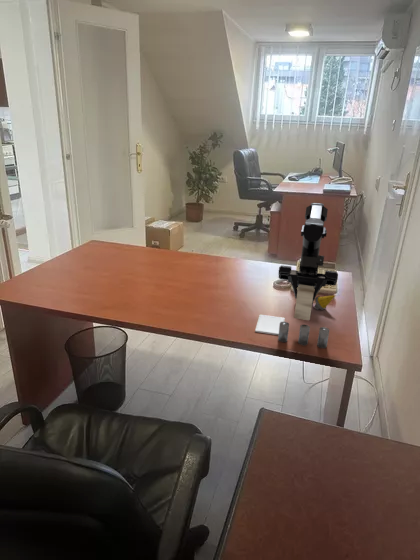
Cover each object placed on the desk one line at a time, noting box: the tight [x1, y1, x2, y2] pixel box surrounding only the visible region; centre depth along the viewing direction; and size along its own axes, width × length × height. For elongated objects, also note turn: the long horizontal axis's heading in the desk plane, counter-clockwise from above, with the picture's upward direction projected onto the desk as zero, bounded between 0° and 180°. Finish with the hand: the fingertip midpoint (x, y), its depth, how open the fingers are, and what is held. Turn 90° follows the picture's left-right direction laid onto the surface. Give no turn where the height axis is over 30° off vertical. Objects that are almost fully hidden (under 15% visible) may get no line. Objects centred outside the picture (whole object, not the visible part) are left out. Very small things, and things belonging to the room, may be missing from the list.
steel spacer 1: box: [277, 321, 290, 343], centre depth 129 cm, size 3×3×6 cm
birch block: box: [293, 284, 315, 321], centre depth 130 cm, size 5×5×10 cm
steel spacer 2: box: [316, 326, 330, 349], centre depth 127 cm, size 3×3×6 cm
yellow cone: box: [313, 294, 336, 311], centre depth 151 cm, size 5×5×10 cm
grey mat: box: [254, 314, 286, 336], centre depth 139 cm, size 12×9×1 cm
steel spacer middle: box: [297, 323, 311, 346], centre depth 128 cm, size 3×3×6 cm
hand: (304, 299), depth 128 cm, fingers closed on birch block, 5 cm apart
